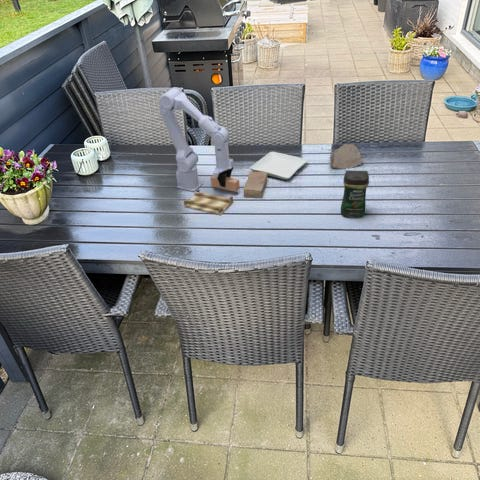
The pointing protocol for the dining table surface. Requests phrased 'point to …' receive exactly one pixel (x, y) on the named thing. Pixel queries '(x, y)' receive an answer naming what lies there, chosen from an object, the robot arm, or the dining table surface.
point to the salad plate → (279, 165)
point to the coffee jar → (354, 193)
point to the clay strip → (230, 183)
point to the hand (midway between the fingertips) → (225, 184)
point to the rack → (208, 203)
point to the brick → (255, 185)
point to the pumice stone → (346, 157)
